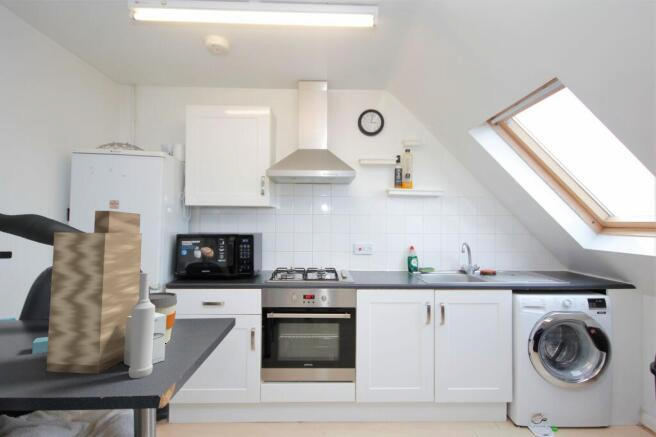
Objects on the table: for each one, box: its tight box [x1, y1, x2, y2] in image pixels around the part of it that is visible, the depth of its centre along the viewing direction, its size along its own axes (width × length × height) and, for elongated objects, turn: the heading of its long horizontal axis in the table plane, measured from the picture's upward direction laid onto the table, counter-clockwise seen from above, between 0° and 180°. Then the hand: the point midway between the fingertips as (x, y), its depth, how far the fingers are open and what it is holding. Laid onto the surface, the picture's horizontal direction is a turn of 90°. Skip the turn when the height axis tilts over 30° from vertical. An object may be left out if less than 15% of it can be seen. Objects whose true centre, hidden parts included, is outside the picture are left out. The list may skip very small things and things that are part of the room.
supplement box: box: [123, 312, 166, 367], centre depth 87 cm, size 7×7×13 cm
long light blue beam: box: [31, 336, 48, 355], centre depth 100 cm, size 22×5×15 cm
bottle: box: [128, 272, 155, 379], centre depth 80 cm, size 5×5×25 cm
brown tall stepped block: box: [45, 210, 143, 375], centre depth 88 cm, size 14×14×41 cm
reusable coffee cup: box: [139, 291, 178, 344], centre depth 102 cm, size 13×13×15 cm
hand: (5, 255), depth 94 cm, fingers open, 8 cm apart
